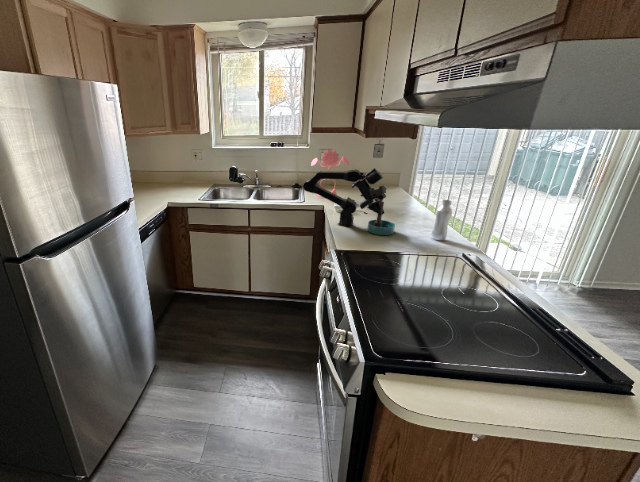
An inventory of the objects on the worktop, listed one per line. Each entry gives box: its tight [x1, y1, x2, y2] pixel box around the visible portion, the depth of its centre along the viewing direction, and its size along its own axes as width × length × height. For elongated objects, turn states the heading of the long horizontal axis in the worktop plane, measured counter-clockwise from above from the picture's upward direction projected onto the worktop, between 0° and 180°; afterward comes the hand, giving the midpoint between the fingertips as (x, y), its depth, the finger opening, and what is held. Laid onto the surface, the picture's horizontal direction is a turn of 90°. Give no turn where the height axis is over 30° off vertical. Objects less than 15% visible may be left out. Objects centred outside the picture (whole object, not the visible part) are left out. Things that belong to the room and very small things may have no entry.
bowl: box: [366, 219, 396, 236], centre depth 170 cm, size 13×13×4 cm
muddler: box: [374, 200, 385, 227], centre depth 168 cm, size 4×4×14 cm
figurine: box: [310, 149, 350, 201], centre depth 227 cm, size 15×26×35 cm, turn 76°
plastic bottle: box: [430, 199, 453, 241], centre depth 156 cm, size 6×7×20 cm
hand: (382, 214), depth 167 cm, fingers closed on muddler, 2 cm apart
